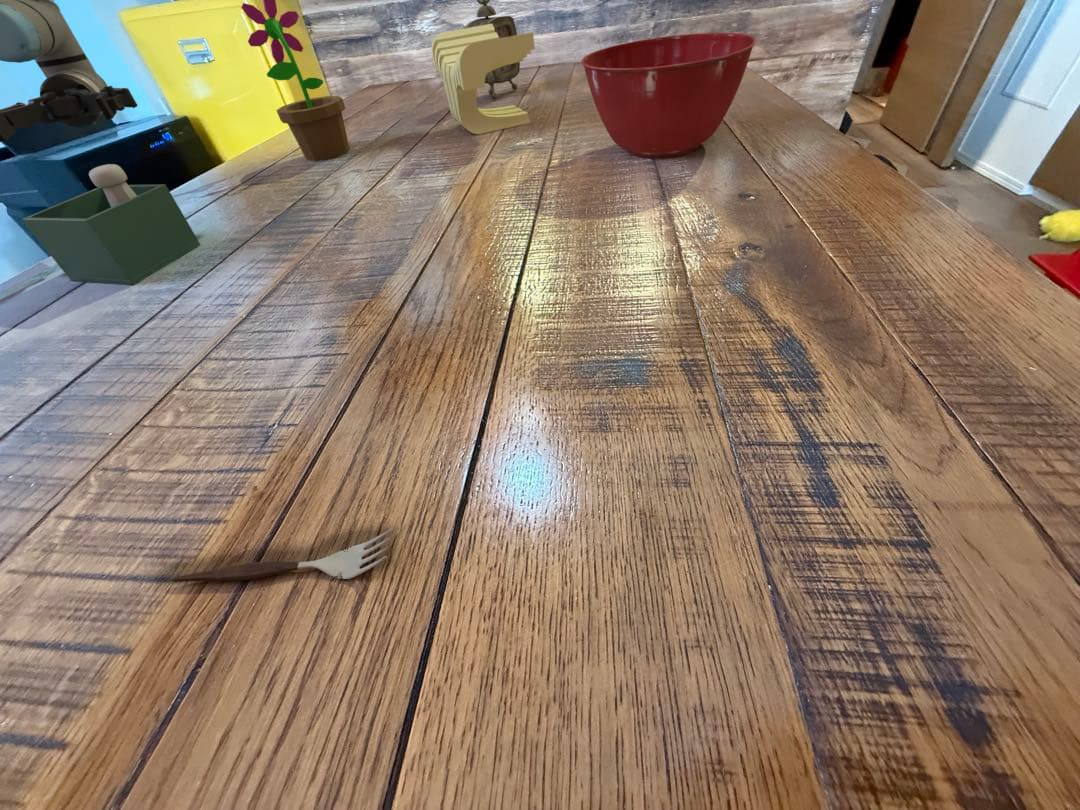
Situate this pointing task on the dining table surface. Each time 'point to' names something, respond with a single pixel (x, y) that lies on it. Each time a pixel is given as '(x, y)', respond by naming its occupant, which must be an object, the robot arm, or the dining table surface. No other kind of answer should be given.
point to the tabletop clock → (503, 29)
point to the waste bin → (114, 235)
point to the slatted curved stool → (478, 73)
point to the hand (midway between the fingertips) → (50, 119)
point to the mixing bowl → (667, 89)
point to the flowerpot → (311, 118)
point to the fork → (298, 565)
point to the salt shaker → (112, 183)
